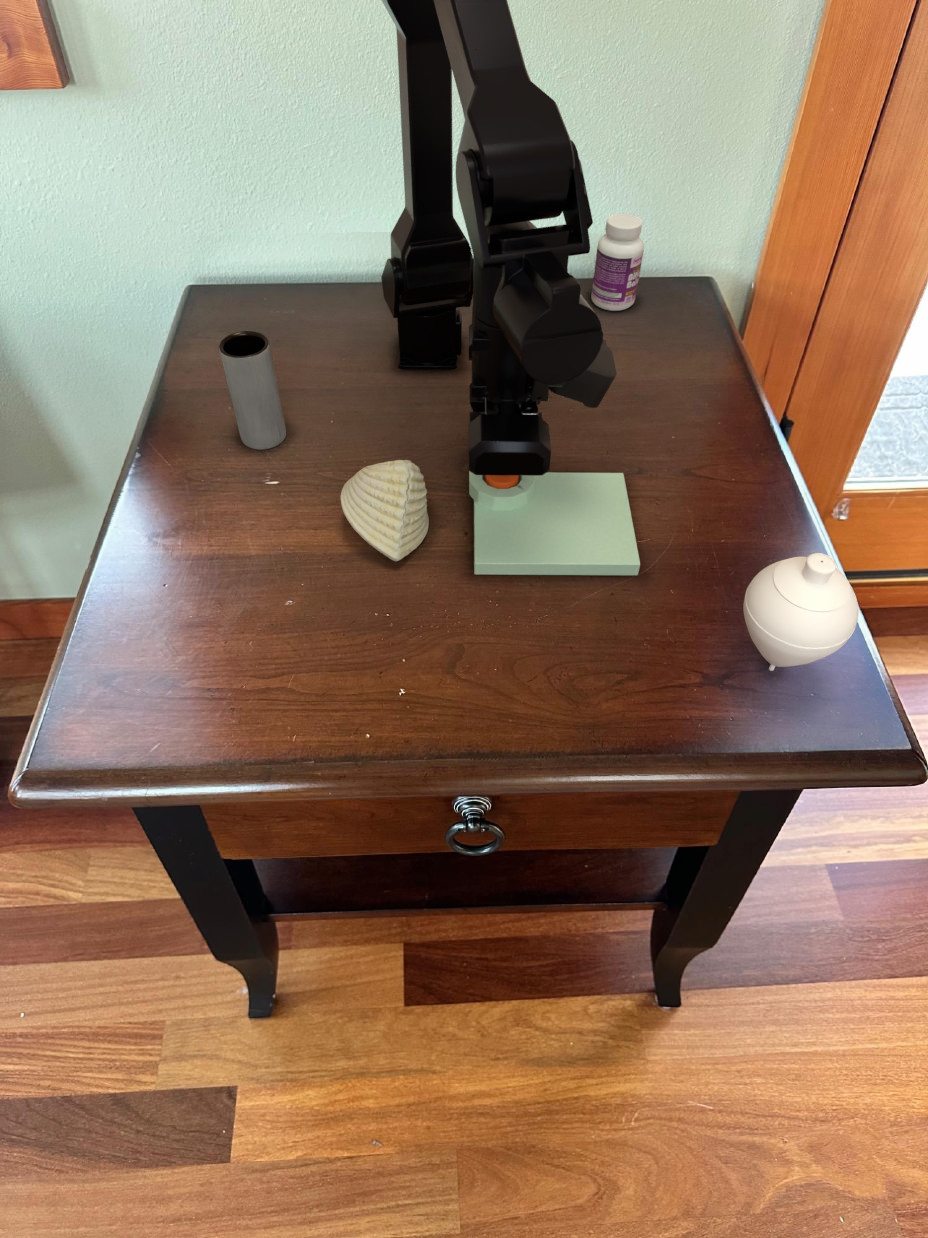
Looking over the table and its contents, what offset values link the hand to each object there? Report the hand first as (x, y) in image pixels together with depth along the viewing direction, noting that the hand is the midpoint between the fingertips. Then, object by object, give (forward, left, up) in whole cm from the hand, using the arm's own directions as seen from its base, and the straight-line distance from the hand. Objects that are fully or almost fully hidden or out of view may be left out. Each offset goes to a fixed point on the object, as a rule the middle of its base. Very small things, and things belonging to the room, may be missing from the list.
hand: (502, 471), depth 75 cm
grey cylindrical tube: (-23, +9, -4) cm, 26 cm away
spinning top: (+21, -20, -4) cm, 29 cm away
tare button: (0, 0, -2) cm, 2 cm away
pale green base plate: (+5, -4, -3) cm, 7 cm away
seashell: (-10, -4, -4) cm, 12 cm away
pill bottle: (+15, +36, -4) cm, 39 cm away
